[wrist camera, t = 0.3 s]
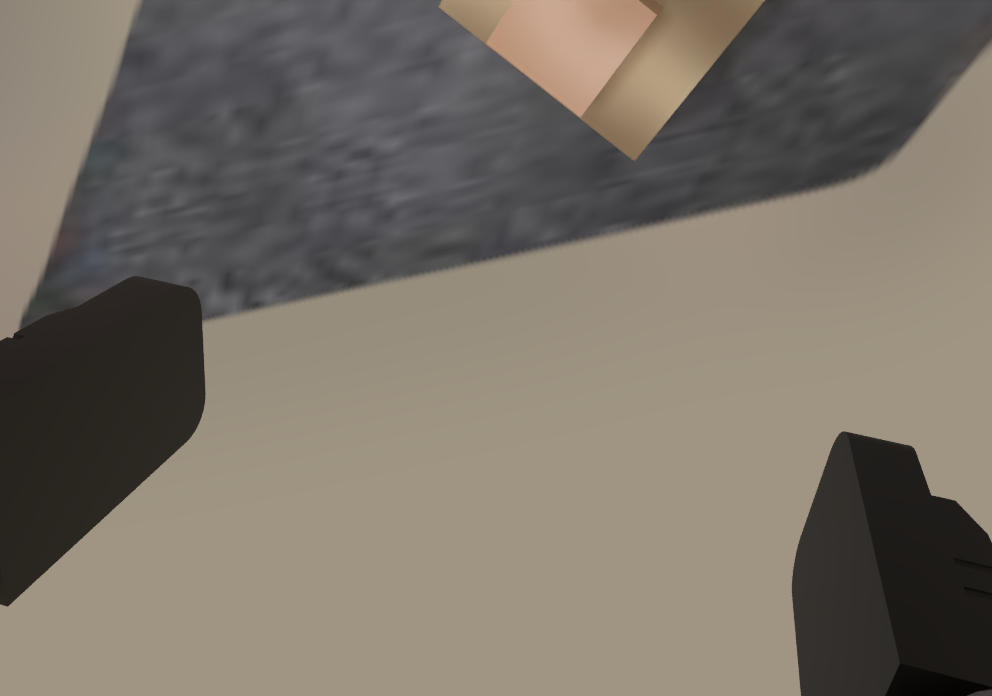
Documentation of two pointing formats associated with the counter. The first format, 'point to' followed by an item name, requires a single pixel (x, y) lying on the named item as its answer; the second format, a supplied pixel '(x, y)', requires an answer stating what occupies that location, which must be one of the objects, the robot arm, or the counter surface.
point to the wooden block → (641, 62)
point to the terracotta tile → (572, 43)
